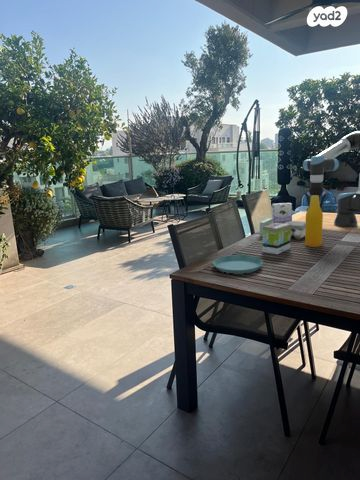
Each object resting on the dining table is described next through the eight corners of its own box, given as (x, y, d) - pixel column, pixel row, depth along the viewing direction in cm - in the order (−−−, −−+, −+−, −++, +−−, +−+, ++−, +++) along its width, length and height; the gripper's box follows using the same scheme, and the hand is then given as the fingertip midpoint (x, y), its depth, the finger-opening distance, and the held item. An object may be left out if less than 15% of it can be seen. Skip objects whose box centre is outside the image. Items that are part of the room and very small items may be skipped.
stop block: (272, 231, 244) (273, 218, 241) (264, 236, 231) (264, 222, 229) (268, 231, 245) (268, 218, 243) (259, 236, 233) (259, 222, 231)
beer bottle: (324, 244, 204) (326, 195, 197) (317, 247, 197) (319, 197, 190) (308, 242, 210) (310, 194, 203) (302, 245, 203) (303, 196, 197)
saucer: (211, 261, 184) (211, 255, 183) (257, 259, 183) (257, 253, 182) (215, 277, 160) (215, 270, 160) (267, 275, 160) (267, 268, 159)
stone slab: (308, 225, 227) (308, 221, 227) (301, 229, 216) (302, 225, 216) (290, 224, 234) (290, 220, 234) (283, 228, 223) (283, 224, 223)
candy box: (290, 223, 267) (290, 202, 263) (292, 225, 261) (292, 203, 257) (272, 224, 268) (272, 203, 264) (273, 225, 263) (273, 204, 259)
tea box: (278, 254, 189) (278, 228, 185) (262, 252, 195) (262, 226, 192) (290, 248, 199) (291, 223, 196) (274, 246, 206) (275, 221, 202)
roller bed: (310, 234, 229) (310, 225, 228) (302, 240, 216) (303, 230, 215) (290, 233, 236) (290, 224, 235) (282, 238, 224) (282, 229, 223)
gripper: (329, 181, 211) (327, 219, 216) (307, 181, 218) (306, 218, 224) (326, 182, 205) (324, 221, 210) (303, 182, 212) (302, 220, 218)
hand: (314, 219), depth 217 cm, fingers closed
